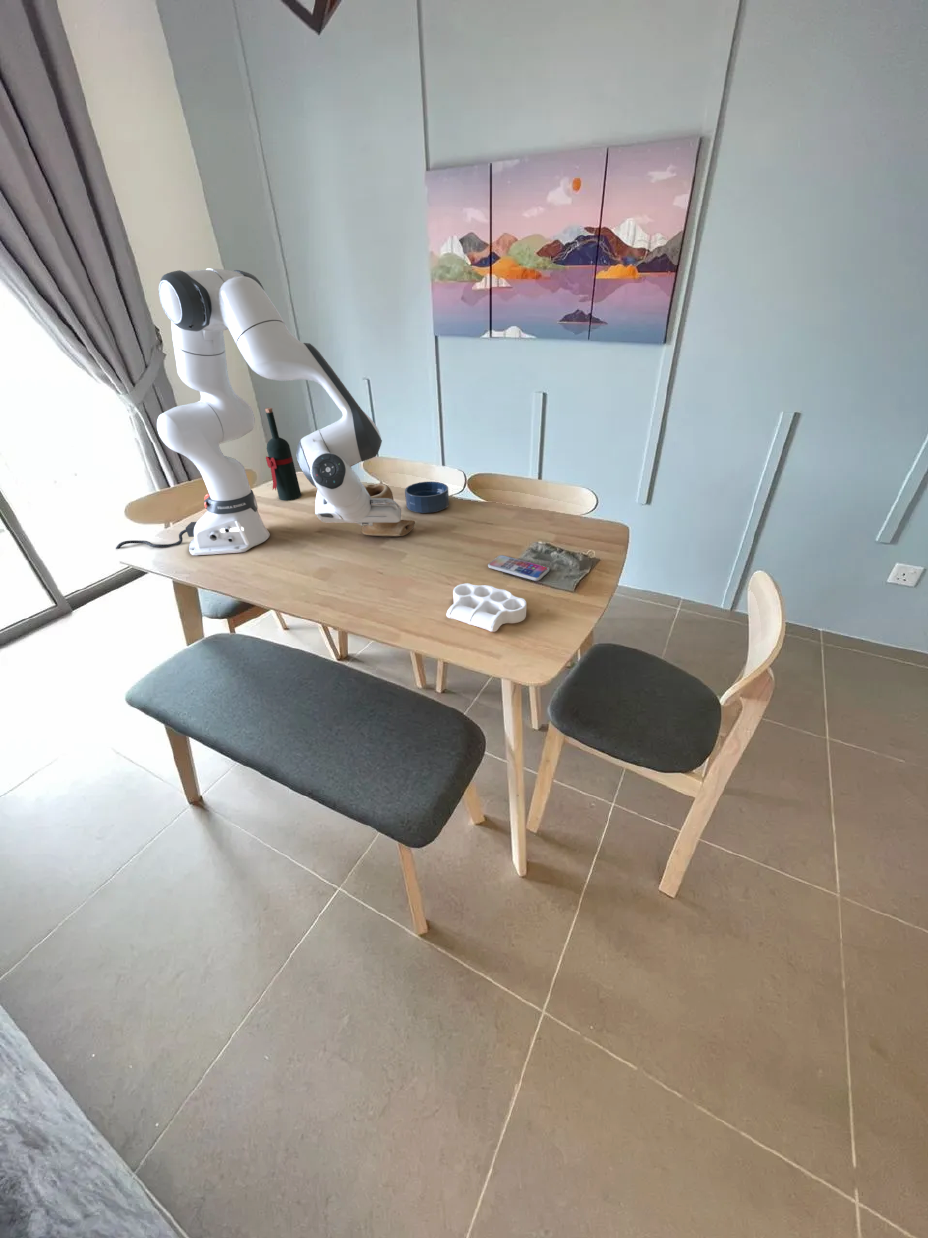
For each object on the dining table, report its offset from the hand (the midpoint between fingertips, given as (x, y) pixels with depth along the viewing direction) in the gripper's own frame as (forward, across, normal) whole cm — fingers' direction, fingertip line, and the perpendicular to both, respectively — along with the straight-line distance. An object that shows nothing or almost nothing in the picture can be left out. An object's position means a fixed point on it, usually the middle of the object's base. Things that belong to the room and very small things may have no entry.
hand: (367, 523), depth 128 cm
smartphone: (+4, -39, +11) cm, 41 cm away
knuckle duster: (-10, -32, +25) cm, 42 cm away
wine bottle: (+42, +42, -26) cm, 65 cm away
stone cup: (+20, 0, -4) cm, 20 cm away
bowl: (+35, -10, -20) cm, 41 cm away
